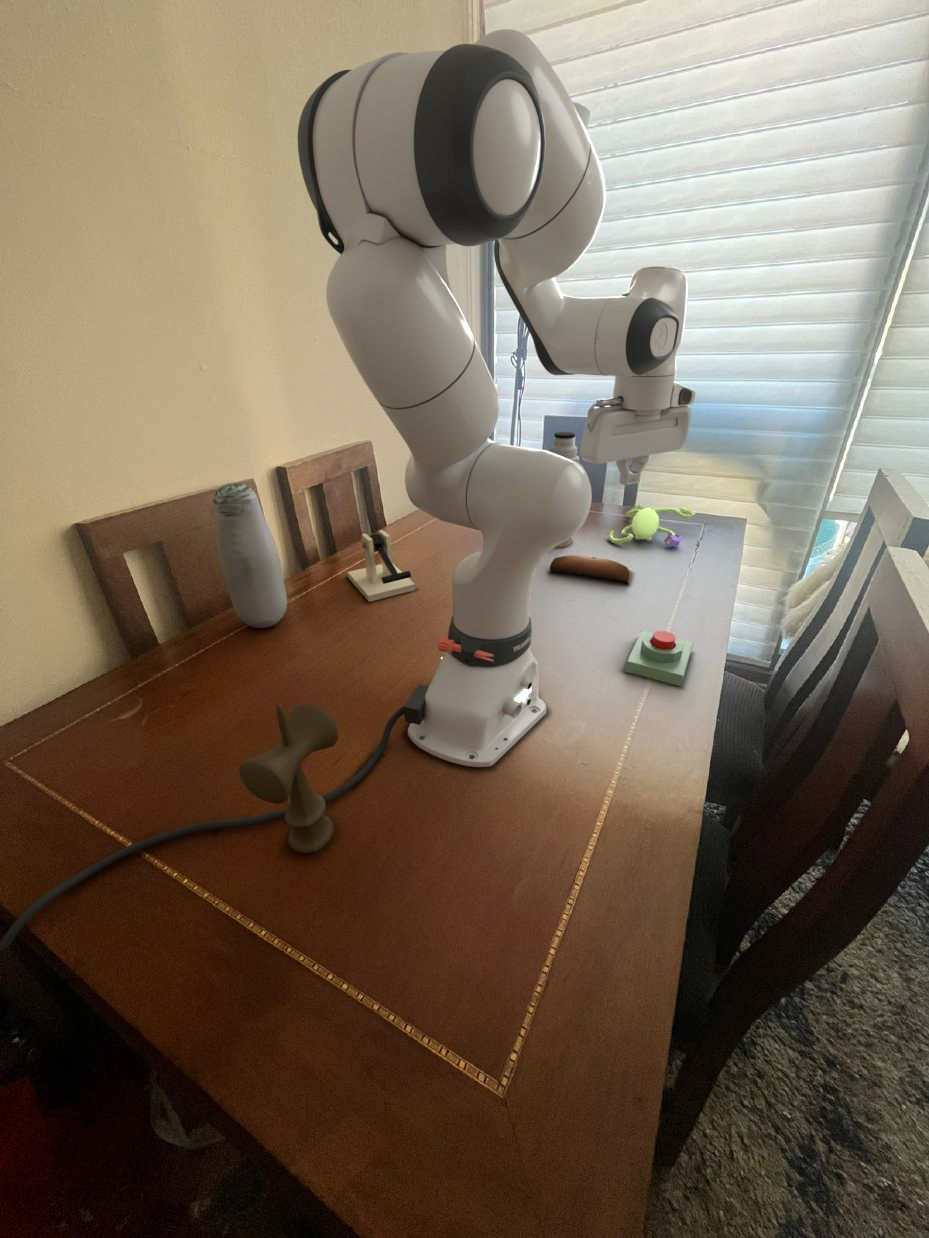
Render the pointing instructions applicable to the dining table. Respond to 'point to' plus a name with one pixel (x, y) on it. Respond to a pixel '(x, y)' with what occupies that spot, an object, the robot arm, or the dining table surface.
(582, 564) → the sunglasses case
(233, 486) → the grey bottle
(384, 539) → the switch bracket
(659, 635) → the stop button
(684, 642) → the stop box
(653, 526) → the figurine
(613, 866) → the dining table surface
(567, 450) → the thermos bottle
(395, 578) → the switch lever
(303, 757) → the kendama
